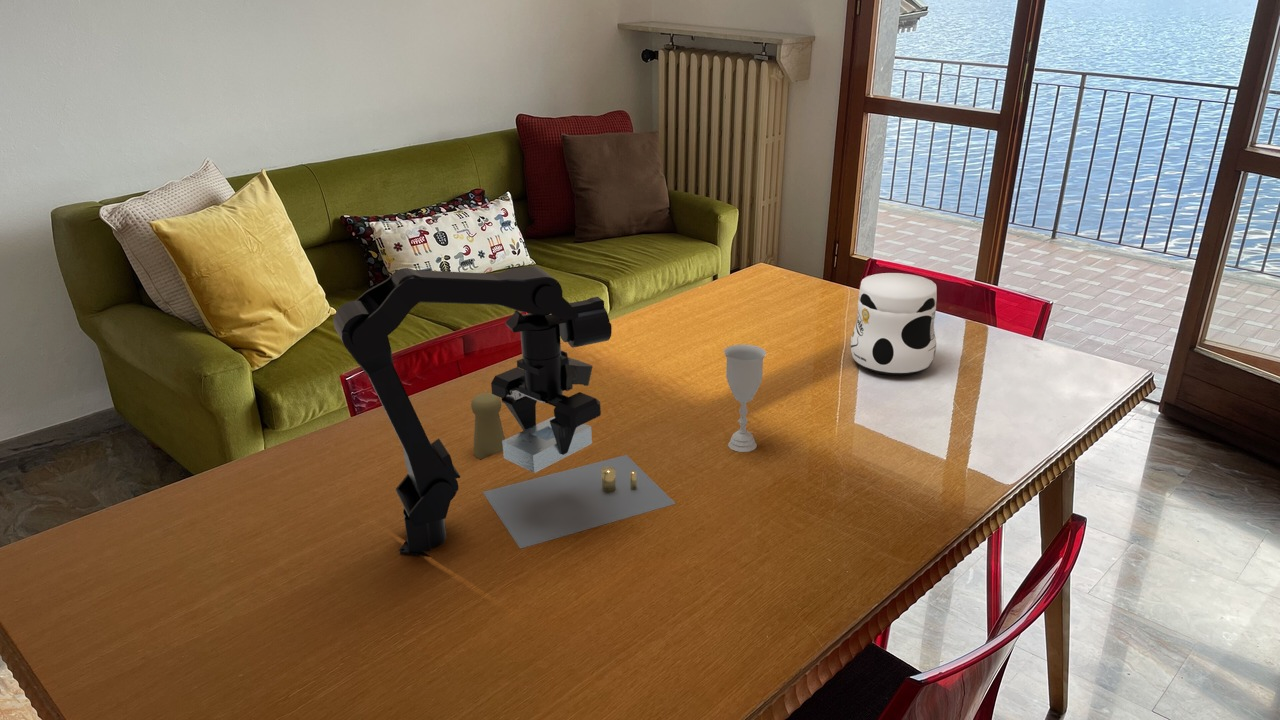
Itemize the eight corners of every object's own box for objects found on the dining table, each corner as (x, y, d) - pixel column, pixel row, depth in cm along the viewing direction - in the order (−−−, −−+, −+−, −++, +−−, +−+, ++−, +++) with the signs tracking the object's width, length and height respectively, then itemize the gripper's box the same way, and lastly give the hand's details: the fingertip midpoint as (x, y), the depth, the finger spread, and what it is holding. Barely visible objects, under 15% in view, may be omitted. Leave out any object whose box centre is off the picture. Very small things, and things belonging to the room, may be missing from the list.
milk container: (834, 355, 204) (839, 276, 197) (904, 345, 209) (912, 267, 202) (876, 387, 189) (883, 302, 182) (950, 375, 194) (960, 292, 187)
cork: (501, 461, 164) (496, 404, 160) (468, 458, 165) (462, 402, 161) (512, 445, 170) (507, 389, 165) (480, 442, 171) (475, 387, 166)
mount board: (520, 554, 138) (520, 548, 138) (483, 497, 153) (482, 492, 153) (675, 509, 149) (675, 503, 149) (626, 459, 164) (626, 454, 163)
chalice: (715, 449, 167) (717, 355, 160) (730, 433, 172) (732, 341, 165) (754, 457, 164) (757, 362, 156) (768, 441, 169) (772, 348, 162)
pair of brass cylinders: (602, 493, 152) (601, 473, 150) (602, 486, 154) (601, 466, 153) (636, 491, 152) (636, 472, 151) (636, 484, 154) (635, 465, 153)
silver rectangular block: (534, 473, 139) (533, 455, 138) (503, 458, 143) (502, 440, 142) (592, 443, 147) (591, 426, 146) (561, 430, 151) (560, 413, 150)
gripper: (625, 352, 138) (627, 445, 144) (540, 323, 150) (546, 410, 156) (570, 376, 131) (575, 473, 137) (485, 343, 142) (493, 434, 149)
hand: (548, 446), depth 145 cm, fingers closed on silver rectangular block, 7 cm apart
